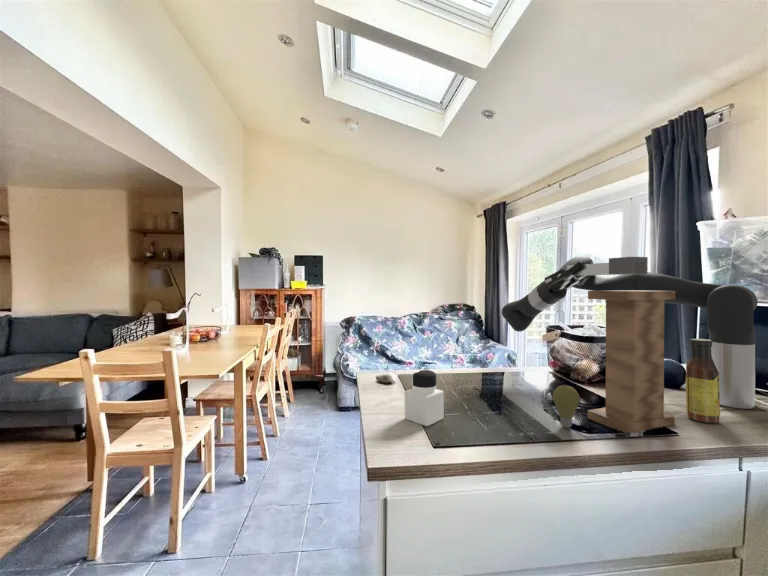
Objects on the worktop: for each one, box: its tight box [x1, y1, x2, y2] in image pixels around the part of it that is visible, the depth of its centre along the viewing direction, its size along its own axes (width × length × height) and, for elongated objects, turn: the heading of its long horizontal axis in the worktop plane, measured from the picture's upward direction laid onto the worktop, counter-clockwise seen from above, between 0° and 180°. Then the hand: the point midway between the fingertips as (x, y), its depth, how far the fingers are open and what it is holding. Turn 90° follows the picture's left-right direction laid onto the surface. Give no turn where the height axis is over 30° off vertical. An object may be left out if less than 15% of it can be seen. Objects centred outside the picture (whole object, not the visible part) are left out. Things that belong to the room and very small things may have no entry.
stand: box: [587, 290, 676, 434], centre depth 87 cm, size 16×10×32 cm, turn 109°
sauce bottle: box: [685, 338, 721, 424], centre depth 89 cm, size 7×6×20 cm
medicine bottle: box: [404, 369, 445, 427], centre depth 90 cm, size 7×7×12 cm
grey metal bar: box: [567, 256, 649, 276], centre depth 94 cm, size 5×20×4 cm, turn 19°
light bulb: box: [552, 384, 580, 429], centre depth 84 cm, size 6×6×10 cm
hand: (587, 264), depth 98 cm, fingers closed on grey metal bar, 3 cm apart
